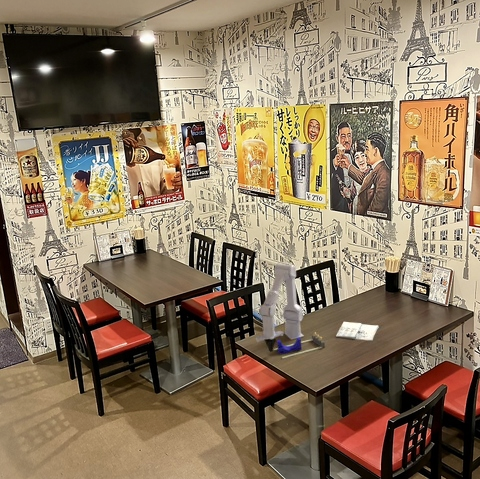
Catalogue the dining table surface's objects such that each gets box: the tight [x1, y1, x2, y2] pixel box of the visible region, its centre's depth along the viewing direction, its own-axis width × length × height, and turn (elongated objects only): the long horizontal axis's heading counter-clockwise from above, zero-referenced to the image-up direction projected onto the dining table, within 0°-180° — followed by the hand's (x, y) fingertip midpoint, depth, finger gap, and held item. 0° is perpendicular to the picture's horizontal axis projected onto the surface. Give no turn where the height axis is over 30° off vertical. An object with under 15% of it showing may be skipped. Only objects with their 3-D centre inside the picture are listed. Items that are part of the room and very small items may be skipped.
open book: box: [335, 321, 380, 342], centre depth 273 cm, size 19×20×2 cm
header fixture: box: [273, 332, 326, 360], centre depth 260 cm, size 11×24×5 cm, turn 110°
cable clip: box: [276, 337, 302, 355], centre depth 259 cm, size 12×4×6 cm, turn 94°
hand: (270, 351), depth 255 cm, fingers closed
